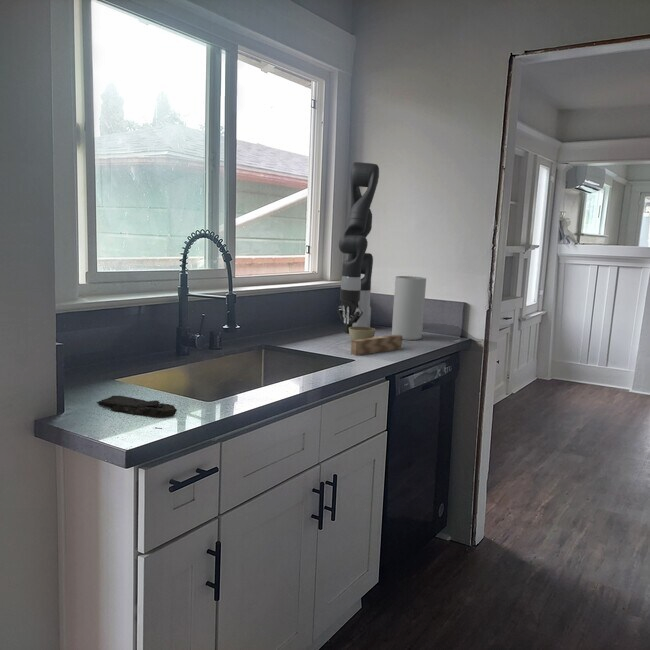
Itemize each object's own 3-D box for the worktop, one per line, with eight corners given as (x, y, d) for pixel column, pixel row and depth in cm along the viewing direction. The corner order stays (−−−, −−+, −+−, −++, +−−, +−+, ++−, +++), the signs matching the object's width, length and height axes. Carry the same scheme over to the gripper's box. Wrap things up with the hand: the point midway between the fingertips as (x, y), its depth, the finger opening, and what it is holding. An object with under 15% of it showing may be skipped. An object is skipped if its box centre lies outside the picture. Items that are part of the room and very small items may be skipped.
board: (396, 347, 236) (397, 334, 235) (401, 348, 234) (402, 335, 233) (350, 354, 220) (351, 339, 220) (355, 355, 219) (356, 340, 218)
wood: (86, 407, 148) (86, 394, 147) (110, 399, 154) (109, 387, 154) (161, 424, 139) (161, 411, 138) (182, 415, 145) (183, 402, 145)
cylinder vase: (389, 334, 265) (393, 275, 260) (418, 335, 265) (423, 276, 261) (393, 339, 252) (398, 278, 248) (424, 341, 253) (429, 279, 249)
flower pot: (379, 348, 234) (380, 329, 233) (362, 351, 227) (363, 331, 225) (359, 343, 241) (360, 325, 239) (342, 346, 233) (343, 327, 232)
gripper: (370, 290, 233) (367, 335, 236) (346, 285, 243) (343, 329, 246) (355, 290, 228) (352, 337, 231) (331, 286, 238) (329, 331, 241)
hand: (347, 333), depth 238 cm, fingers closed
